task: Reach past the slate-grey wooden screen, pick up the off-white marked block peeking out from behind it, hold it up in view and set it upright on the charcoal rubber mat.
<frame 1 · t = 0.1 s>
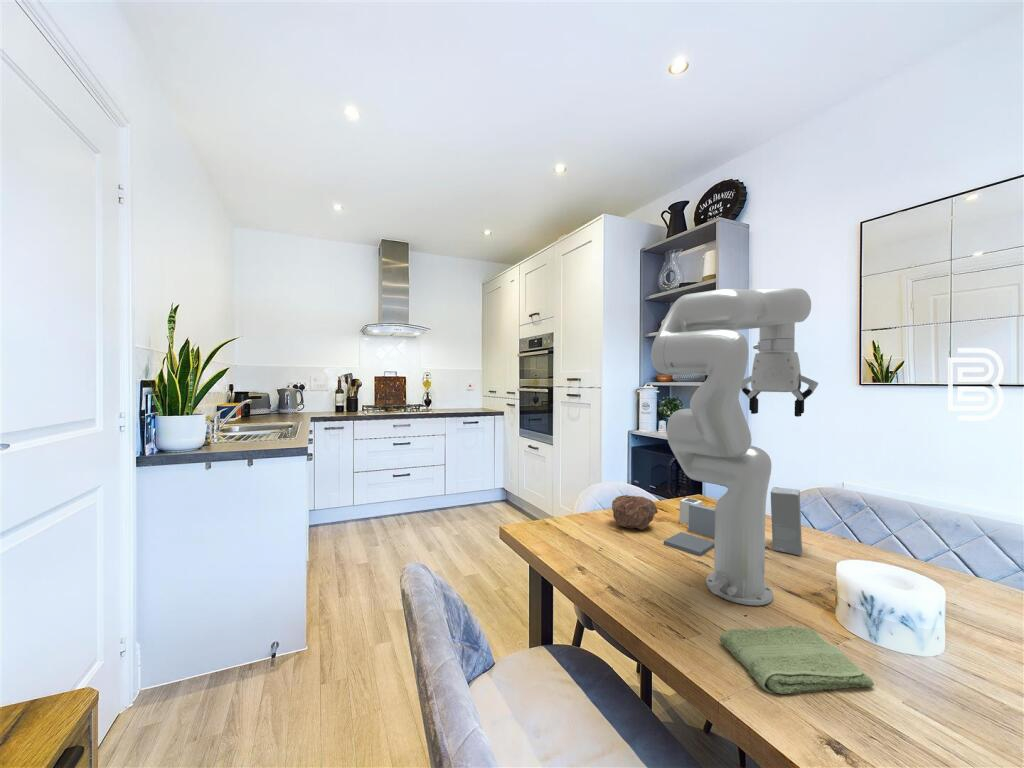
hand: (775, 414, 104), 37 cm above the table, tool pointing down, fingers open, 9 cm apart
screen: (712, 536, 118), on the table
washcloth: (789, 666, 66), on the table
skincare box: (785, 548, 111), on the table
mat: (689, 545, 112), on the table
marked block: (690, 522, 130), on the table
decorative rock: (633, 527, 126), on the table
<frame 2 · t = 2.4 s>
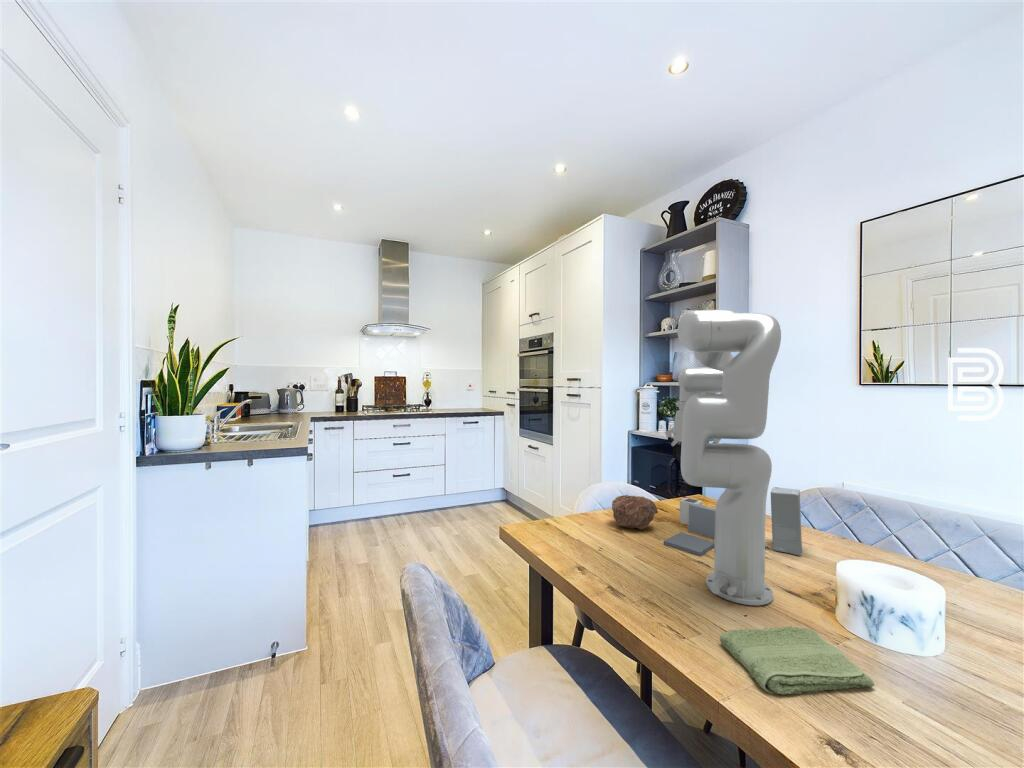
hand: (691, 460, 130), 20 cm above the table, tool pointing down, fingers open, 9 cm apart
nothing on the table moved.
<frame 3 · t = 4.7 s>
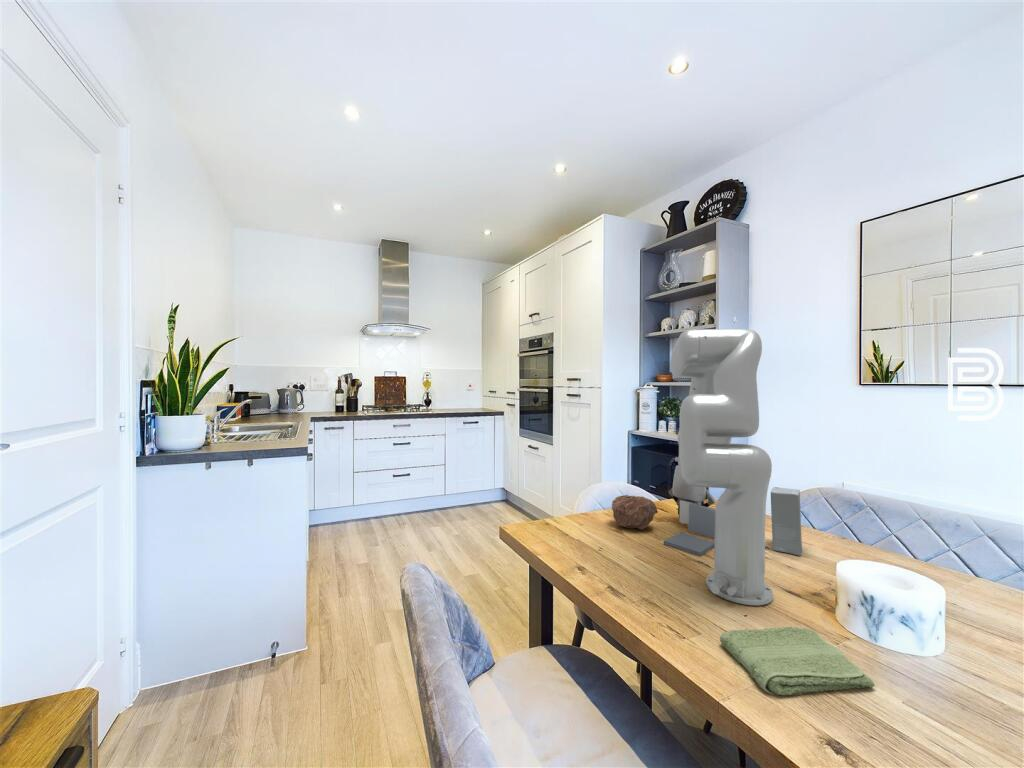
hand: (690, 519, 130), 1 cm above the table, tool pointing down, fingers closed on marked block, 5 cm apart
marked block: (690, 522, 130), on the table, touching gripper
everything else where it was.
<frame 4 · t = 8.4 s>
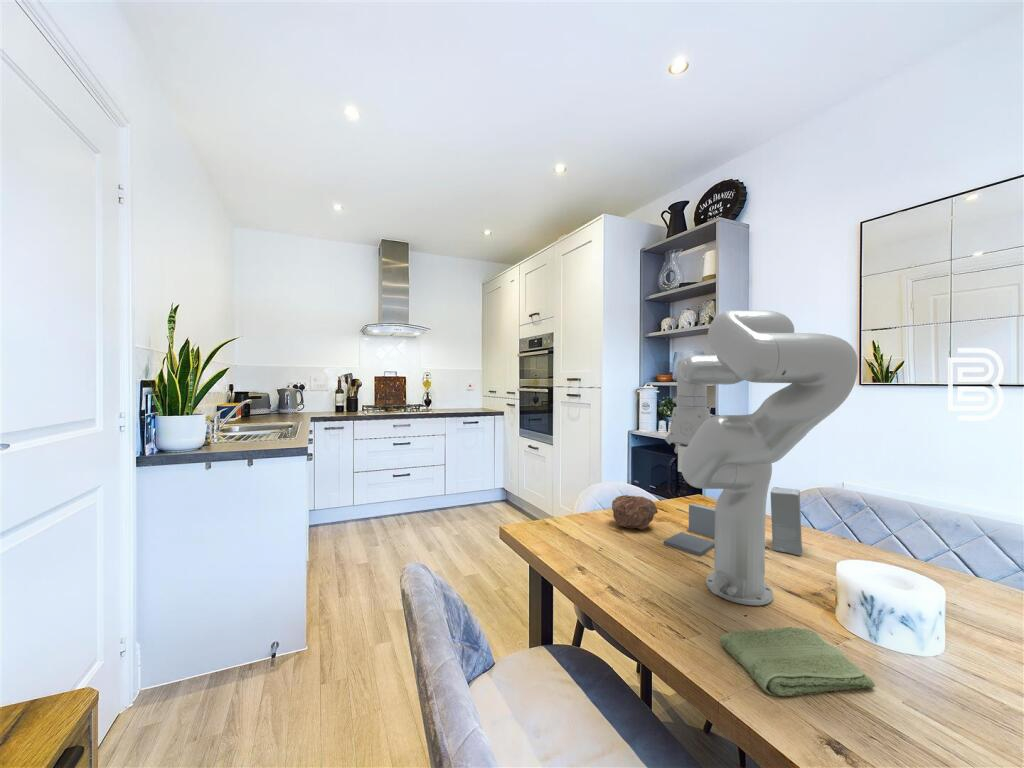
hand: (691, 468, 112), 21 cm above the table, tool pointing down, fingers closed on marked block, 5 cm apart
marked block: (690, 471, 112), point 20 cm above the table, touching gripper
everything else where it was.
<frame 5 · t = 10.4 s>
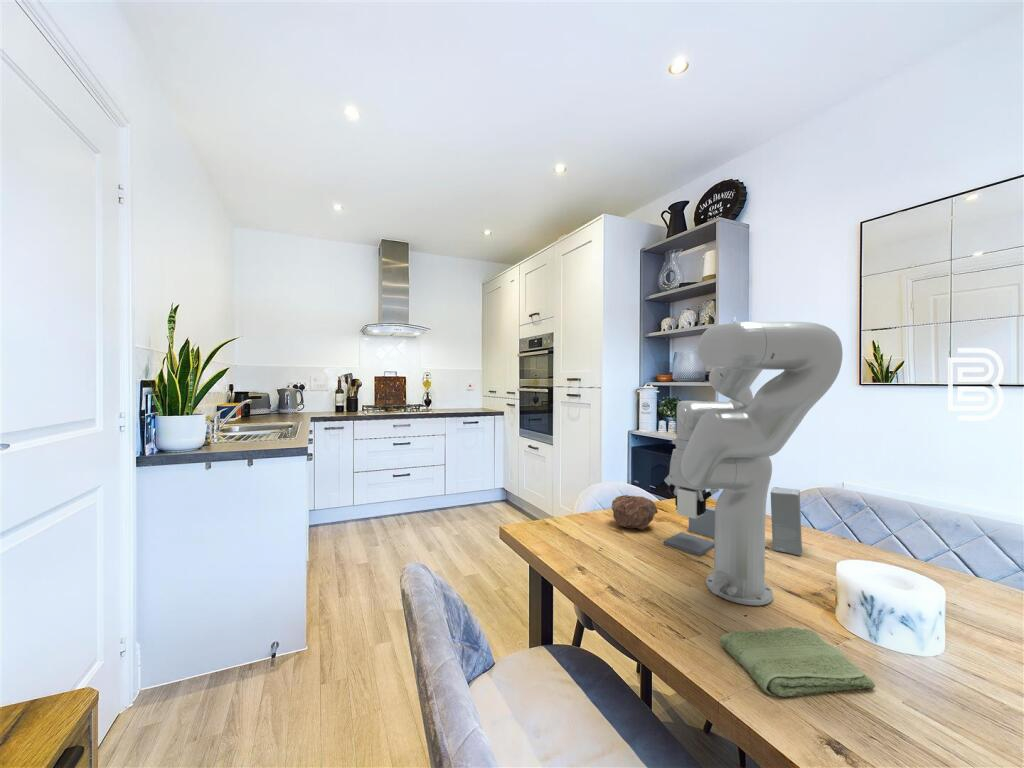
hand: (690, 511, 112), 9 cm above the table, tool pointing down, fingers closed on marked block, 5 cm apart
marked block: (690, 514, 112), point 8 cm above the table, touching gripper
everything else where it was.
when the fingers open (3 cm above the table, at t = 12.1 s): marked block drops 1 cm, resting on mat.
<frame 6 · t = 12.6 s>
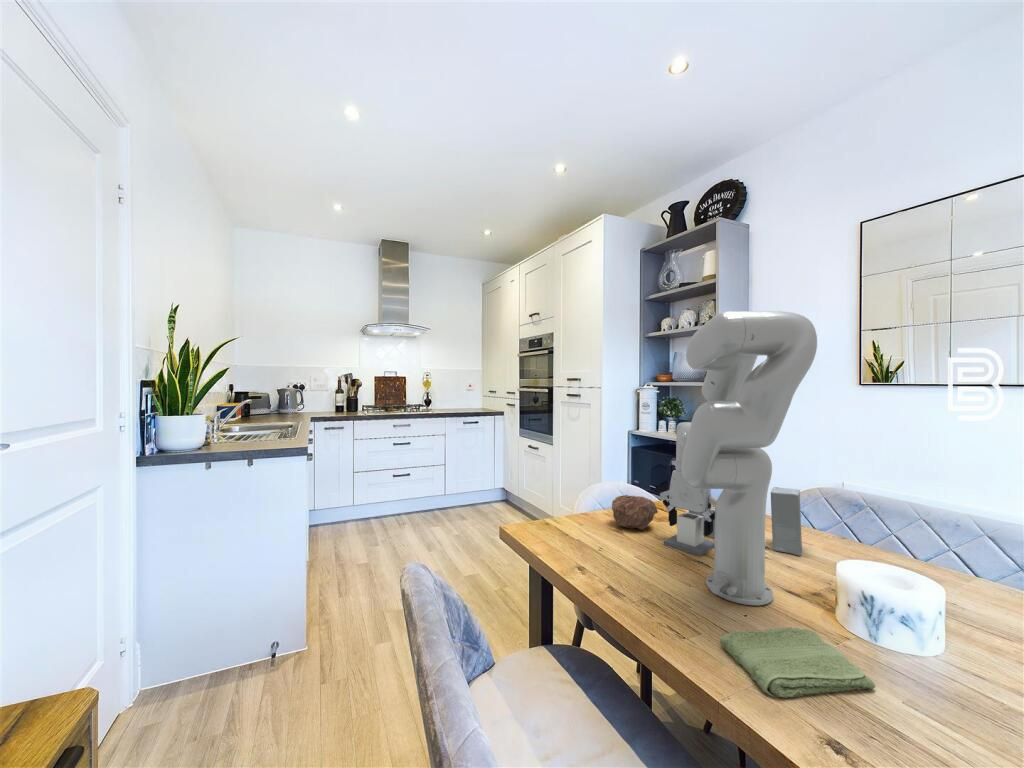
hand: (690, 529, 112), 4 cm above the table, tool pointing down, fingers open, 9 cm apart
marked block: (690, 541, 112), point 1 cm above the table, touching mat
everything else where it was.
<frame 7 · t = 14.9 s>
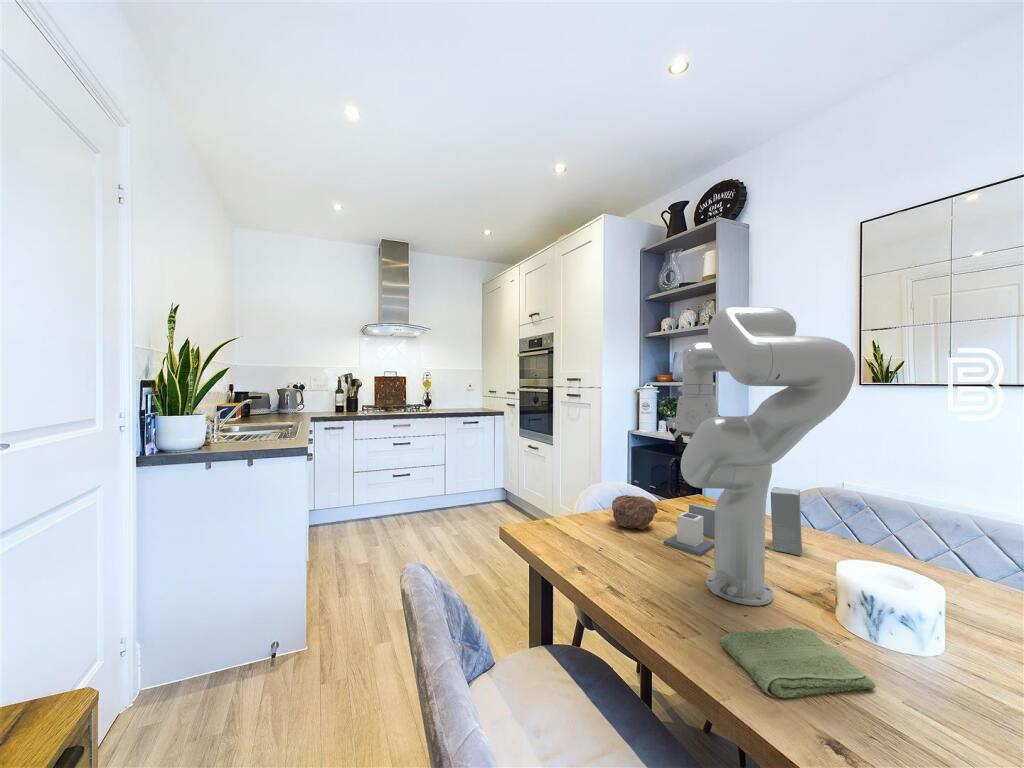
hand: (697, 454, 111), 25 cm above the table, tool pointing down, fingers open, 9 cm apart
nothing on the table moved.
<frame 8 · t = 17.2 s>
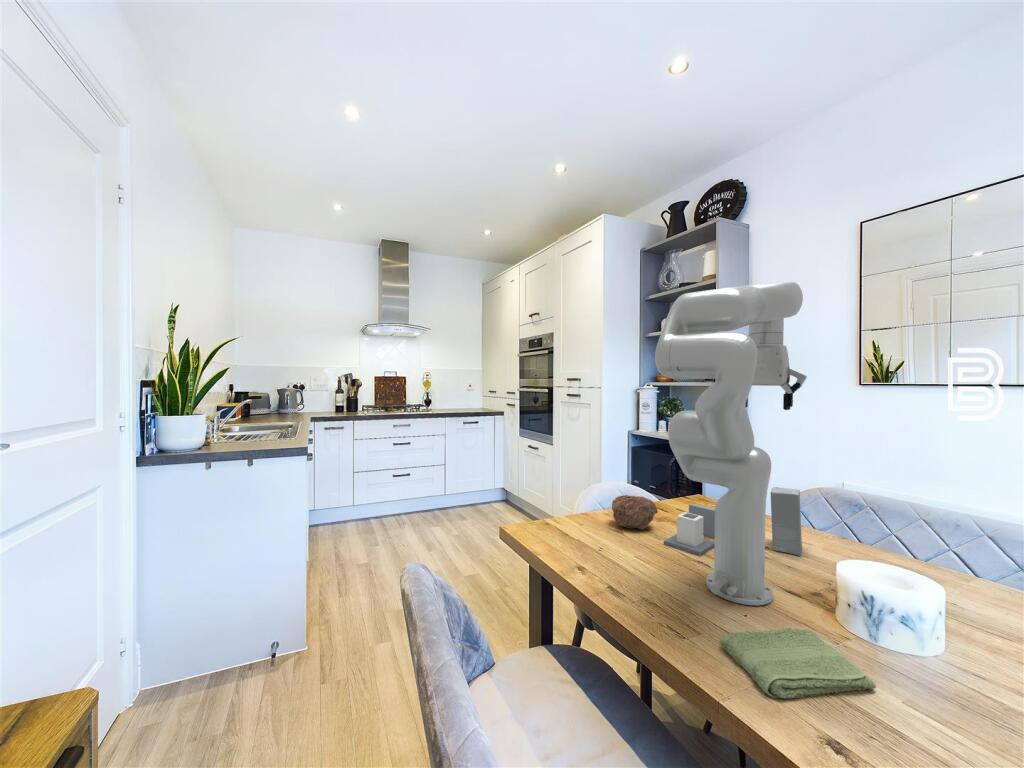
hand: (764, 408, 104), 38 cm above the table, tool pointing down, fingers open, 9 cm apart
nothing on the table moved.
at the end: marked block inside the target area on the mat (0.1 cm from its centre), point 1.0 cm above the mat's base; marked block tilted 0°; the gripper is holding nothing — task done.
